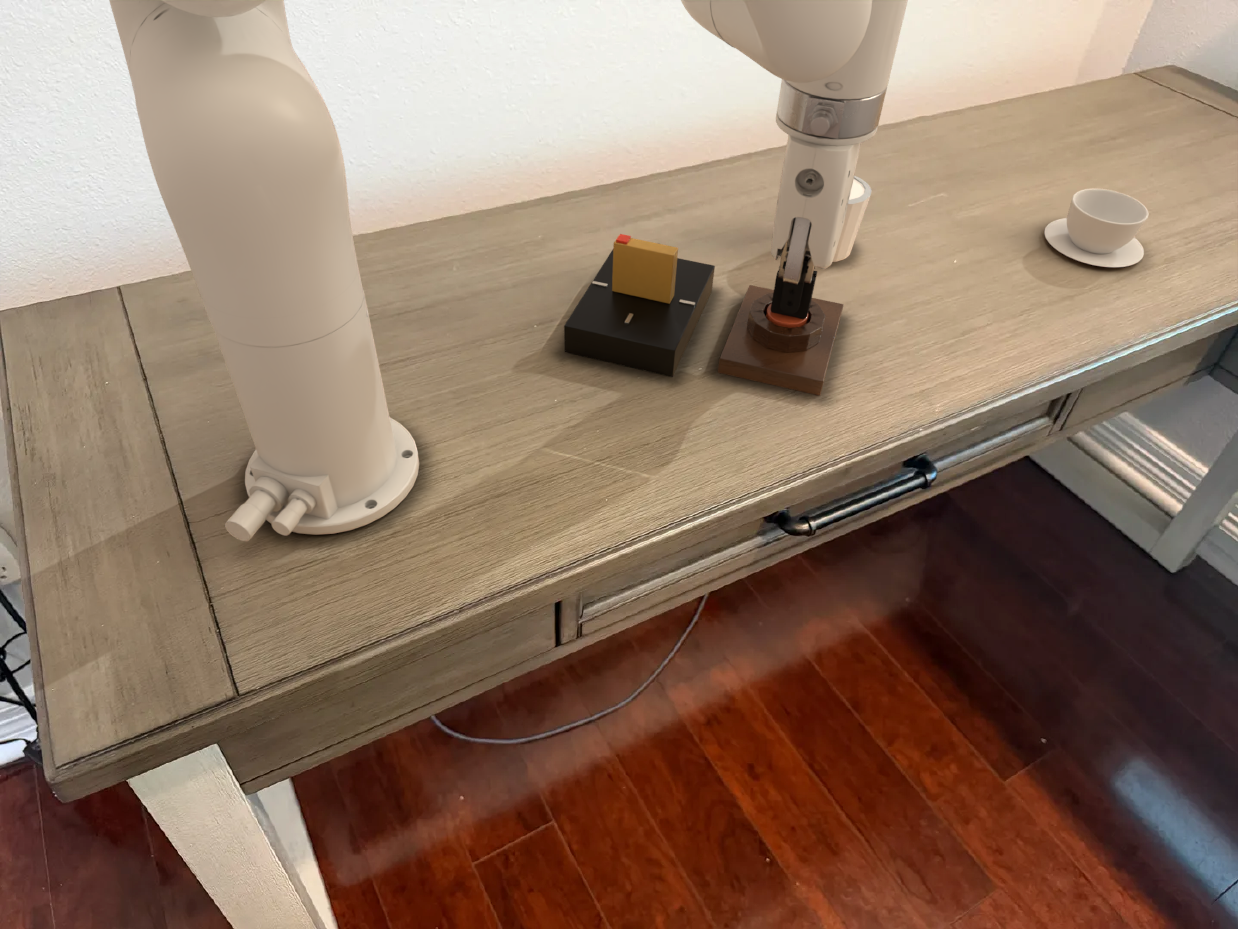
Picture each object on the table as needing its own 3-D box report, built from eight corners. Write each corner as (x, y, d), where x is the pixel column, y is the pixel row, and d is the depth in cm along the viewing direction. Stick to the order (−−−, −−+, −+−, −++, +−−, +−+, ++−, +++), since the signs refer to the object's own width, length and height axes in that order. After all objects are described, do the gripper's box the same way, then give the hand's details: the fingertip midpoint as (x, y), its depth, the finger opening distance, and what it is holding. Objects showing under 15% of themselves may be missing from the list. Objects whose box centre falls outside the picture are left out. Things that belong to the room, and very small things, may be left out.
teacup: (1130, 282, 90) (1151, 241, 87) (1031, 250, 94) (1048, 209, 91) (1150, 240, 96) (1170, 200, 93) (1056, 212, 100) (1072, 172, 97)
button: (801, 343, 78) (804, 327, 77) (760, 334, 79) (763, 318, 77) (808, 320, 80) (811, 304, 79) (768, 312, 81) (771, 296, 80)
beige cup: (780, 254, 92) (792, 191, 87) (803, 224, 96) (815, 163, 91) (845, 273, 90) (860, 209, 85) (864, 242, 94) (880, 180, 89)
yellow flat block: (674, 295, 81) (678, 244, 77) (669, 304, 80) (674, 252, 76) (616, 283, 82) (618, 232, 78) (611, 291, 81) (613, 240, 77)
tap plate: (672, 378, 77) (675, 348, 75) (564, 353, 79) (563, 324, 77) (711, 292, 87) (715, 263, 84) (614, 271, 89) (615, 243, 86)
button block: (819, 396, 76) (827, 364, 73) (717, 373, 78) (721, 341, 75) (840, 318, 84) (848, 287, 82) (747, 299, 86) (751, 267, 83)
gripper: (868, 156, 60) (818, 371, 73) (892, 74, 70) (844, 275, 83) (758, 138, 61) (728, 351, 74) (797, 60, 71) (764, 259, 84)
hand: (789, 310), depth 78 cm, fingers closed
